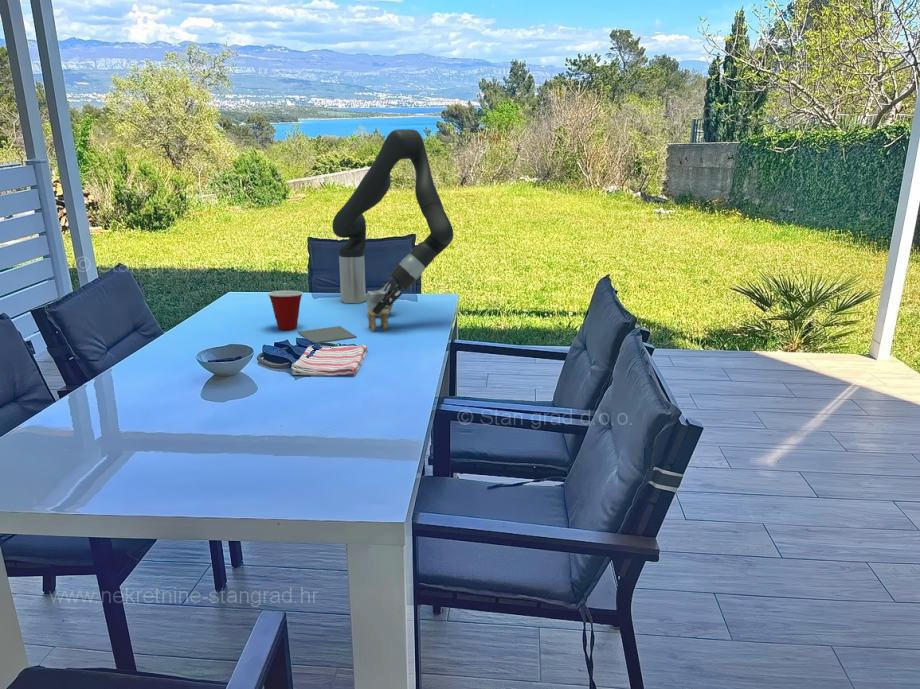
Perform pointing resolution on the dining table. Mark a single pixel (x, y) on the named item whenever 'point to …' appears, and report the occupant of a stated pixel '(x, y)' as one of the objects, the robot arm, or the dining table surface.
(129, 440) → the dining table surface
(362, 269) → the robot arm
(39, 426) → the dining table surface
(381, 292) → the stool
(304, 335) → the mat
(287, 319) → the plastic cup
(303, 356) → the dish towel
